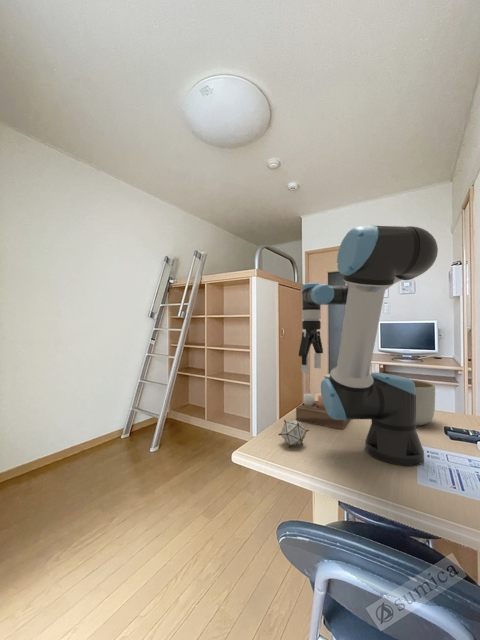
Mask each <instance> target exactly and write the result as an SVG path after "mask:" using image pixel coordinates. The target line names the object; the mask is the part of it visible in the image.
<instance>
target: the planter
mask: <svg viewBox="0 0 480 640" xmlns="http://www.w3.org/2000/svg"><path fill="white" fill-rule="evenodd" d="M411 380H412V381H413V382H414V383H415V389H416V427H417V426H418V427H419V426H425V425H427V424H429V423H430V422H432V420H433V418H434V415H435V410H436V385H435V384H434V383H431V382H428V381H425V380H419V379H411Z"/></svg>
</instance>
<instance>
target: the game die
mask: <svg viewBox="0 0 480 640" xmlns="http://www.w3.org/2000/svg"><path fill="white" fill-rule="evenodd" d="M283 422H284V424H283V427H282V430H281V432H280V433H278V436H281V437H282V438H283V440H284V441H285V442H286V443H287V444H288V449H291V447H292V446H296V445H301V446H304V443H303V441H304V439H305V437H306V433H307V432H310V430H309V429H306V428H305V427H304V426H303V425H302V424H301V422H300V421H298V418H297V420H296V419H294V420H288V421H287V420H286V419H283Z"/></svg>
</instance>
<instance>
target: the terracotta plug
mask: <svg viewBox="0 0 480 640" xmlns="http://www.w3.org/2000/svg"><path fill="white" fill-rule="evenodd" d="M317 401H318V408H322V409H325V407H324V404H323V401H322V396H321V395H318V396H317Z"/></svg>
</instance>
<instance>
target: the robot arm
mask: <svg viewBox="0 0 480 640" xmlns="http://www.w3.org/2000/svg"><path fill="white" fill-rule="evenodd" d="M438 250H439V248H438V243H437V241H436V239H435V237H434V236H433V235H432V233H430V232H429V231H428V230H426V229H424V228H422V227H418V226H410V225H409V226H408V225H407V226H400V225H399V226H397V225H394V226H392V225H373V224H371V225H362V226H361V225H360V226H355V227H353V228H351V229H350V230H349V231H348V232H347V233H346V235H345V236H344V237H343V239H342V240H341V243H340V246H339V249H338V251H337V259H336V263H337V270H338V272H339V273H340V274H341V275H343V282H344V283H345V285H344V284H343V285H342V284H341V285H334V284H332V285H331V284H330V285H329V284H326V283H321V284H320V283H319V282H308V283H307V282H306V283H304V284H303V285H302V286H301V305H302V307H301V308H302V312H301V315H302V318H301V319H302V320H303V321H302V325H301V328H302V330H305V331H302V332H301V340H300V345H299V349H298V357H300V359H301V360H300V361H301V367H300V368H301V371H300V372H301V373H303V374H309V361H310V359H309V356H308V355H309V352H310V349H311V345H312V347H313V350H314V355H313V358H314V360H313V362H314V363H313V364H314V365H313V367H314V369H321V368H322V354H323V353H324V349H323V343H322V338H321V331H320V330H321V325H322V324H321V317H322V316H321V315H322V312H321V311H322V309H321V306H323V305H324V306H327V305H328V306H333V305H334V306H335V305H338V306H341V305H342V306H343V305H344V306H345V309H344V315H343V316H344V317H343V324H342V328H341V329H342V330H341V337H340V342H339V343H340V344H339V350H338V356H337V363H336V366H335V367H333V368H332V369H331V370H330V372H329V374H330V378H329V379H327V378H326V379H325V378H324V379H322V381H321V382H320V394H321V395H320V396H322V401H323V404H324V407H325V410H326V412H327V414H328V415H329V416H330V417H331V418H332V419H336V420H349V421H351V420H371V424H370V428H369V430H368V433H367V435H366V439H365V451H366V452H367V453H368V454H369V456H370V455H371V456H372V457H374V458H376V459H377V460H378V461H379V460H380V461H382V462H385V463H388V464H393V465H398V466H410V467H411V466H417V465H421V464H422V463H424V462H425V452H424V451H425V450H424V448H423V446H422V443H421V440H420V437H419V435H418V431H417V426H416V389H415V383H414V382H413V381H412V380H413V379H412V380H411V379H410V378H409V377H404V376H401V375H395V374H391V373H383V372H371V373H370V371H371V370H370V369H371V367H372V366H371V365H372V361H373V356H374V350H375V343H376V340H377V339H376V338H377V334H378V330H379V329H378V328H379V323H380V318H381V313H382V307H383V303H384V297H385V293H386V290H387V289H389V288H391V287H392V286H393V285H395V284H397V283H399V282H401V281H410V280H413V279H415V278H417V277H420V276H421V275H423V274H424V273H427V271H428V270H429V269H431V267H432V266H433V265H434V263H435V261H436V259H437V257H438Z"/></svg>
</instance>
